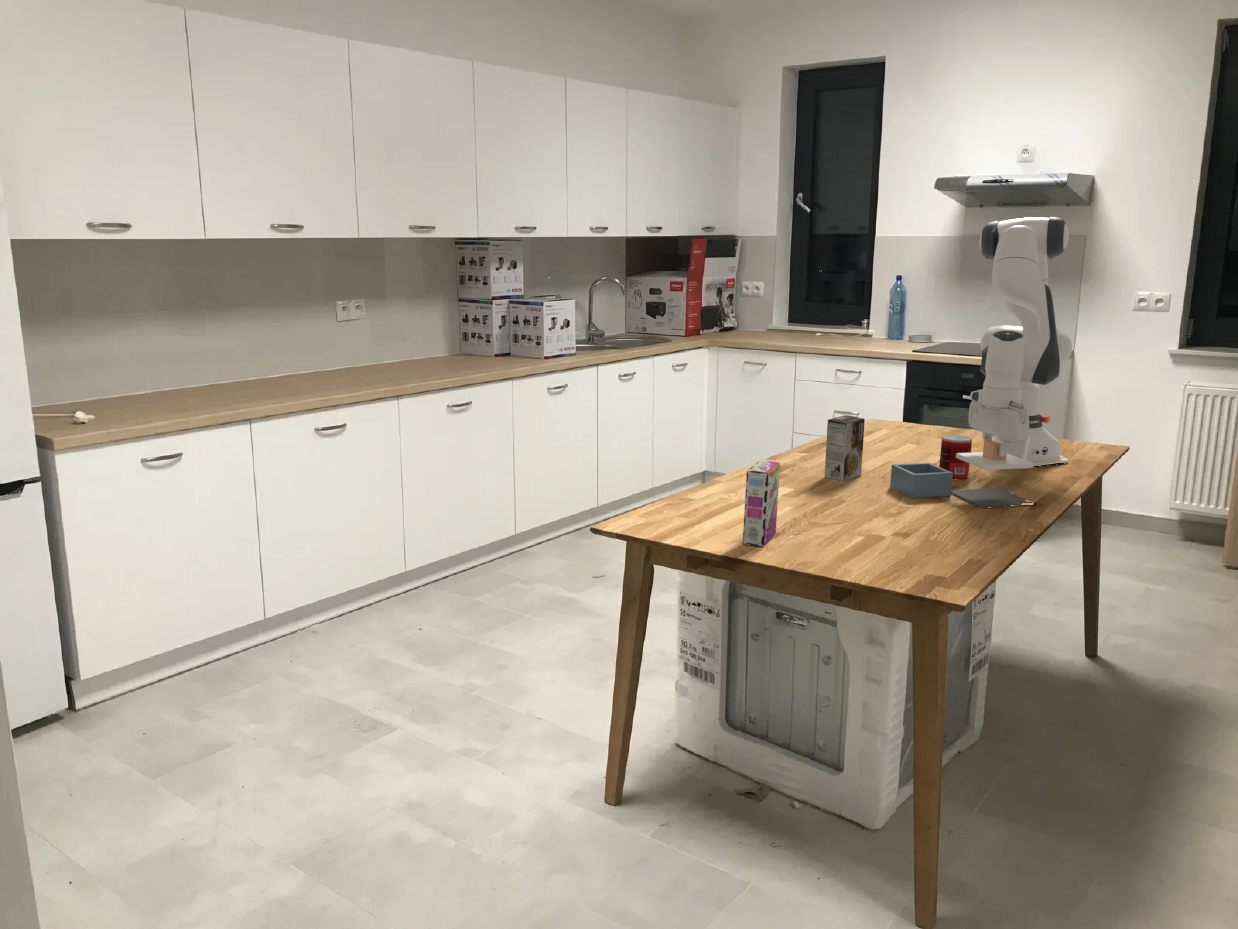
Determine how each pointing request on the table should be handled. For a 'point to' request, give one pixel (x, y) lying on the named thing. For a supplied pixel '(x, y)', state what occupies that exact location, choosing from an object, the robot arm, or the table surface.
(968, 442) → the canned food
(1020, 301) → the robot arm
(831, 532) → the table surface
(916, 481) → the open box
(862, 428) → the coffee box
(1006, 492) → the mat
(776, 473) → the candy bar box
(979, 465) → the lid
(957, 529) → the table surface
